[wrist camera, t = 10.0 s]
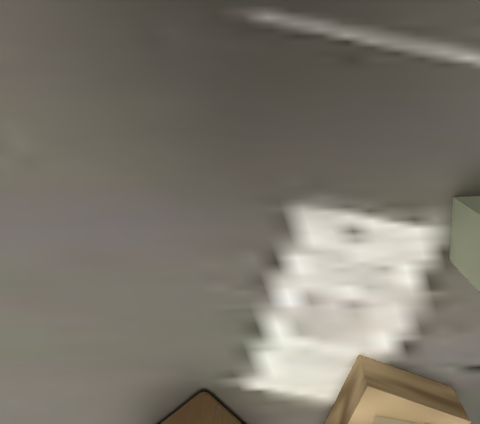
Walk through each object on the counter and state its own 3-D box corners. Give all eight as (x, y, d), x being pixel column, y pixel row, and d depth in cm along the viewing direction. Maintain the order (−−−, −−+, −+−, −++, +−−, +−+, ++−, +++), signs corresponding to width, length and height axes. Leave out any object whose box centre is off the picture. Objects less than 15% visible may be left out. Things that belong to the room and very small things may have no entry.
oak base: (358, 352, 43) (367, 386, 39) (450, 384, 43) (470, 421, 39) (321, 425, 46) (326, 465, 42) (407, 455, 46) (422, 498, 42)
